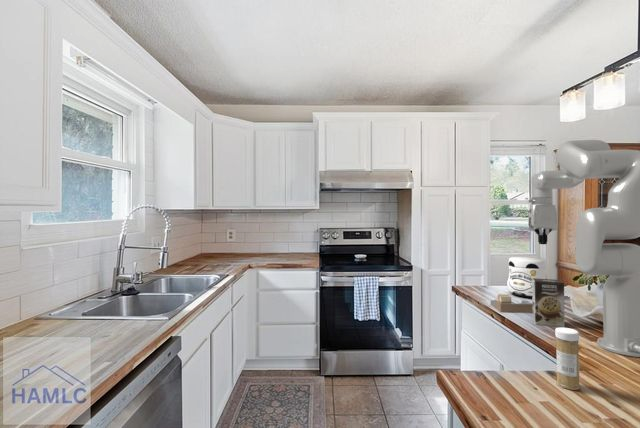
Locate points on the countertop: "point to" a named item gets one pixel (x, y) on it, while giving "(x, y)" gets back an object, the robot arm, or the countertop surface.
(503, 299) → the maple cube
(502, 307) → the trap board
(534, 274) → the milk container
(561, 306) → the cookie box
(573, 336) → the sprinkles bottle
